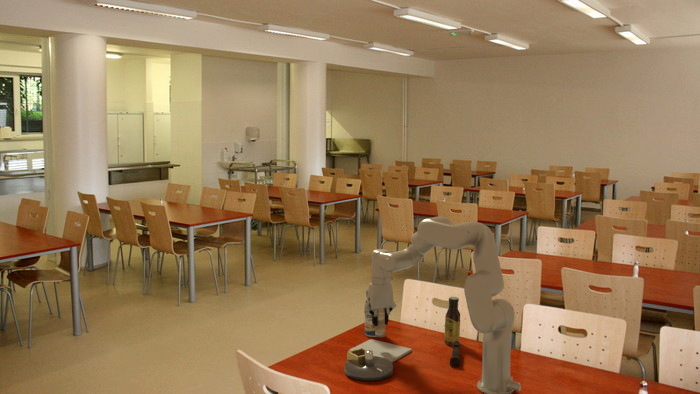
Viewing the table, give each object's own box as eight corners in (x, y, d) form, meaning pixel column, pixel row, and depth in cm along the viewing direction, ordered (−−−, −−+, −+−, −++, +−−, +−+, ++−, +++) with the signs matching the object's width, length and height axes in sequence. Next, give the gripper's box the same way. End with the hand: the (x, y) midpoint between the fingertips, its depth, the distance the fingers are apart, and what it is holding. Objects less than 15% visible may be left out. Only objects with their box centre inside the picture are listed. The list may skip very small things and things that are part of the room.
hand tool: (460, 368, 235) (460, 356, 234) (449, 367, 236) (449, 355, 235) (463, 351, 253) (463, 340, 253) (453, 350, 254) (454, 339, 254)
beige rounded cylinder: (385, 337, 248) (384, 307, 248) (375, 337, 249) (374, 307, 248) (385, 334, 252) (384, 305, 252) (375, 334, 253) (375, 305, 252)
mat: (411, 351, 252) (411, 348, 252) (390, 363, 239) (390, 360, 239) (371, 341, 264) (371, 338, 263) (348, 352, 251) (348, 349, 251)
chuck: (402, 373, 228) (403, 353, 227) (363, 384, 218) (363, 364, 217) (373, 358, 243) (373, 340, 242) (335, 368, 233) (335, 349, 232)
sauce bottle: (441, 342, 263) (442, 296, 260) (453, 340, 265) (454, 294, 263) (450, 347, 257) (451, 300, 255) (462, 344, 259) (463, 298, 257)
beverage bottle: (385, 332, 275) (385, 288, 273) (381, 338, 267) (381, 293, 265) (366, 330, 277) (366, 286, 275) (362, 336, 269) (362, 291, 267)
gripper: (394, 276, 255) (394, 319, 257) (357, 280, 248) (357, 324, 250) (403, 280, 248) (402, 324, 250) (365, 284, 241) (365, 330, 243)
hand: (380, 324), depth 250 cm, fingers closed on beige rounded cylinder, 4 cm apart
